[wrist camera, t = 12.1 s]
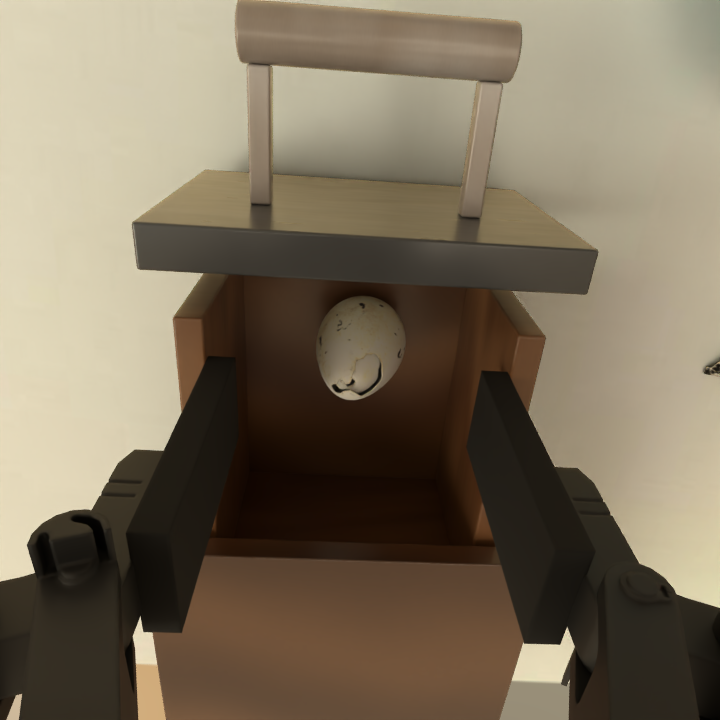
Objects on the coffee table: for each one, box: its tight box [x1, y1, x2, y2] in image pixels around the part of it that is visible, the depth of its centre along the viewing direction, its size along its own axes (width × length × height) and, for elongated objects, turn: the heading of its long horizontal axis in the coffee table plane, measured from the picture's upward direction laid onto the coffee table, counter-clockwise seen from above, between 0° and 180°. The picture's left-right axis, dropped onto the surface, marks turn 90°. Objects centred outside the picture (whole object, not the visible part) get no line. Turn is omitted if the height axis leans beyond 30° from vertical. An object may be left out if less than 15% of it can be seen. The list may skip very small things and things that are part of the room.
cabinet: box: [153, 538, 523, 720], centre depth 25 cm, size 15×13×10 cm
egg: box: [316, 296, 406, 400], centre depth 20 cm, size 3×3×5 cm
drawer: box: [132, 0, 598, 547], centre depth 19 cm, size 18×11×8 cm, turn 176°
